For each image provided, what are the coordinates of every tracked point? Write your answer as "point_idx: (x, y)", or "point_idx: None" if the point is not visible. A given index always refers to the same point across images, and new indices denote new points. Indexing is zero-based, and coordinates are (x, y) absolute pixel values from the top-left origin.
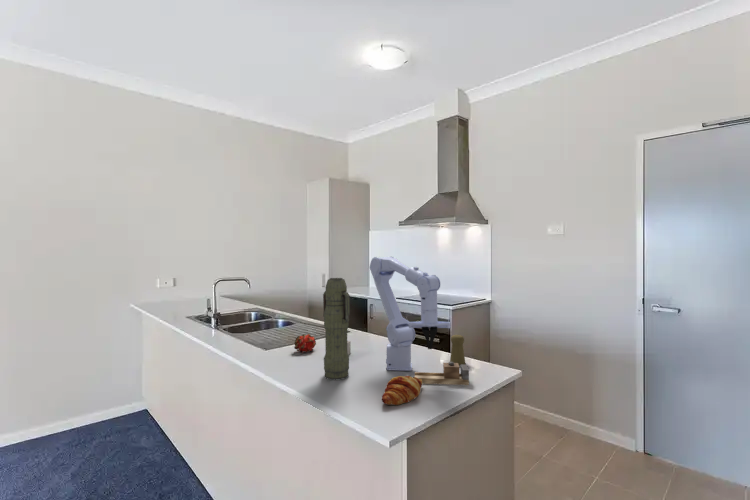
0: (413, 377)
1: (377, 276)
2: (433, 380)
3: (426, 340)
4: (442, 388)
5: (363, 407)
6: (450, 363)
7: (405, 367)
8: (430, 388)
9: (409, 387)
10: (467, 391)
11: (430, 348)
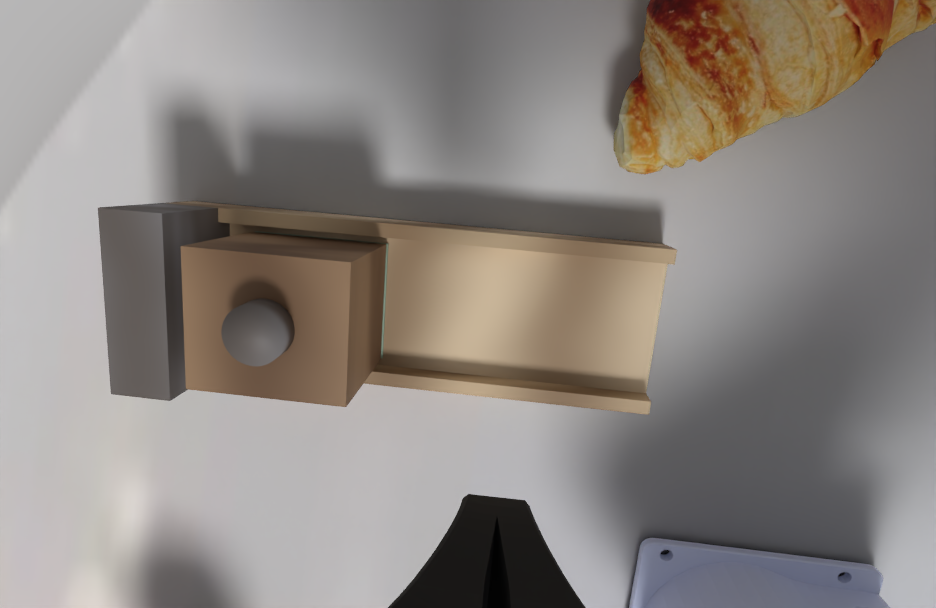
0: (729, 117)
1: None
2: (490, 230)
3: (575, 595)
4: (426, 122)
5: None
6: (265, 307)
7: (704, 575)
8: (535, 119)
9: None
10: (220, 54)
11: (488, 500)
